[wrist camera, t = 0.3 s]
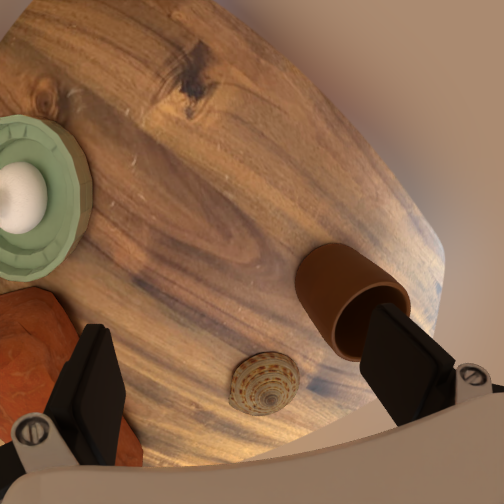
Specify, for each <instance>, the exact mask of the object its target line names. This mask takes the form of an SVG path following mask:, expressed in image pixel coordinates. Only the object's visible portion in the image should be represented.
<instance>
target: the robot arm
mask: <svg viewBox="0 0 504 504" xmlns="http://www.w3.org/2000/svg"><path fill="white" fill-rule="evenodd" d="M454 364H455V359H454V358H453V357H452V356H450V355H449V354H448V353H447V352H446V351H445V350H444V349H443V348H442V347H441V346H440V345H439V344H438V343H436V342H435V341H434V340H433V339H432V338H431V337H430V336H429V335H428V334H427V333H426V332H424V331H423V330H422V329H421V328H420V327H419V326H418V325H417V324H416V323H415V322H413V321H412V320H411V319H410V318H409V317H408V316H407V315H406V314H404V313H403V312H402V311H401V310H400V309H399V308H398V307H396V306H395V305H394V304H393V303H385V304H378V305H377V306H376V308H375V309H373V311H372V314H371V318H370V323H369V328H368V332H367V337H366V341H365V345H364V349H363V353H362V357H361V361H360V373H361V374H362V376H363V377H364V379H365V380H366V382H367V383H368V384H369V386H370V387H371V389H372V390H373V392H374V393H375V394H376V396H377V397H378V399H379V400H380V402H381V403H382V404H383V406H384V407H385V409H386V410H387V412H388V413H389V415H390V416H391V417H392V419H393V420H394V422H395V423H396V425H397V426H398V427H396V428H393V429H390V430H388V431H384V432H381V433H378V434H375V435H371V436H368V437H365V438H361V439H358V440H354V441H350V442H347V443H343V444H339V445H335V446H331V447H327V448H322V449H318V450H314V451H309V452H304V453H299V454H294V455H288V456H282V457H276V458H270V459H264V460H256V461H248V462H240V463H230V464H219V465H206V466H185V467H126V466H115V460H116V453H117V446H118V439H119V432H120V426H121V420H122V414H123V408H124V403H125V397H126V391H125V386H124V382H123V379H122V376H121V372H120V368H119V365H118V361H117V357H116V354H115V350H114V346H113V342H112V337H111V333H110V330H109V329H108V328H105V327H104V325H103V324H87V325H86V326H85V328H84V330H83V332H82V334H81V336H80V338H79V340H78V342H77V344H76V346H75V349H74V351H73V353H72V355H71V357H70V359H69V361H66V362H65V364H64V365H63V367H62V370H61V372H60V374H59V376H58V378H57V381H56V383H55V385H54V388H53V390H52V392H51V395H50V397H49V399H48V402H47V404H46V407H45V409H44V412H43V414H42V413H38V412H34V413H28V414H25V415H23V416H21V417H19V418H18V419H17V420H16V421H15V422H14V424H13V426H12V428H11V438H12V441H10V442H8V443H6V444H4V445H2V446H0V504H504V386H500V385H496V384H491V378H490V375H489V373H488V372H487V371H486V370H485V369H484V368H482V367H481V366H479V365H476V364H472V363H465V364H461V365H459V366H458V367H457V369H456V370H455V369H454V368H453V366H454Z"/></svg>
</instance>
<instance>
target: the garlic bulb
mask: <svg viewBox="0 0 504 504" xmlns="http://www.w3.org/2000/svg"><path fill="white" fill-rule="evenodd" d="M47 200H48V195H47V187H46V183H45V180H44V178H43V176H42V174H41V173H40V171H39V170H38V169H37V168H36V167H34V166H33V165H31V164H29V163H27V162H13V163H10V164H8V165H6V166H4V167H3V168H2V169H1V170H0V228H2V229H3V230H4V231H6V232H9V233H12V234H23V233H26V232H28V231H30V230H32V229H34V228H35V227H36V226H37V225H38V224H39V222H40V221H41V220H42V218H43V216H44V214H45V211H46V207H47Z"/></svg>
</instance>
